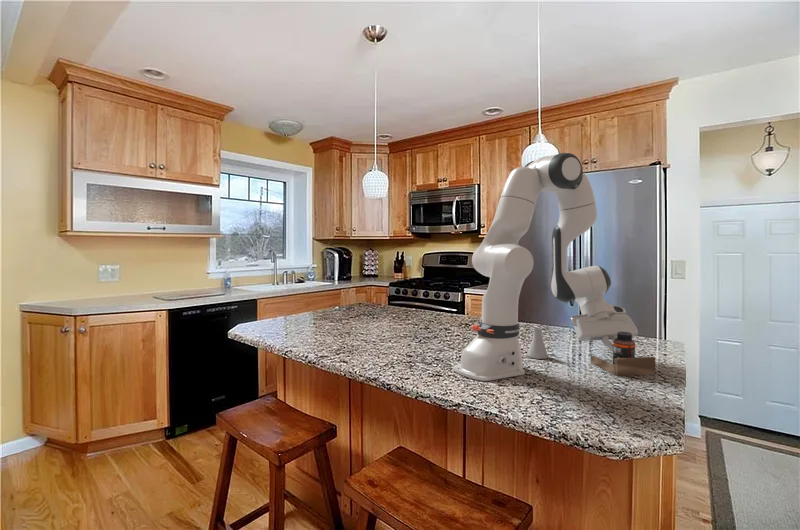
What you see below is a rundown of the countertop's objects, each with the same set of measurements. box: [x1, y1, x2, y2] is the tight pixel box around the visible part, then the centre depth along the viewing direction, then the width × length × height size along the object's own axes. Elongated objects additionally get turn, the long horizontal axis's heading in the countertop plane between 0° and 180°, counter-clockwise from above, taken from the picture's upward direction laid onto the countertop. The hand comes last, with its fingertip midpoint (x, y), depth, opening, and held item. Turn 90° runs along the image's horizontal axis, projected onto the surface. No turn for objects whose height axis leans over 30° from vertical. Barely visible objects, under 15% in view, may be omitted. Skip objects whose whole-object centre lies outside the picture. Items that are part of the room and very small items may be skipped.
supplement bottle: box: [612, 332, 636, 364], centre depth 123 cm, size 6×6×11 cm
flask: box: [526, 326, 549, 360], centre depth 137 cm, size 7×7×10 cm
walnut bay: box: [590, 355, 656, 377], centre depth 124 cm, size 13×12×5 cm
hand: (616, 350), depth 127 cm, fingers closed, pressing on supplement bottle
